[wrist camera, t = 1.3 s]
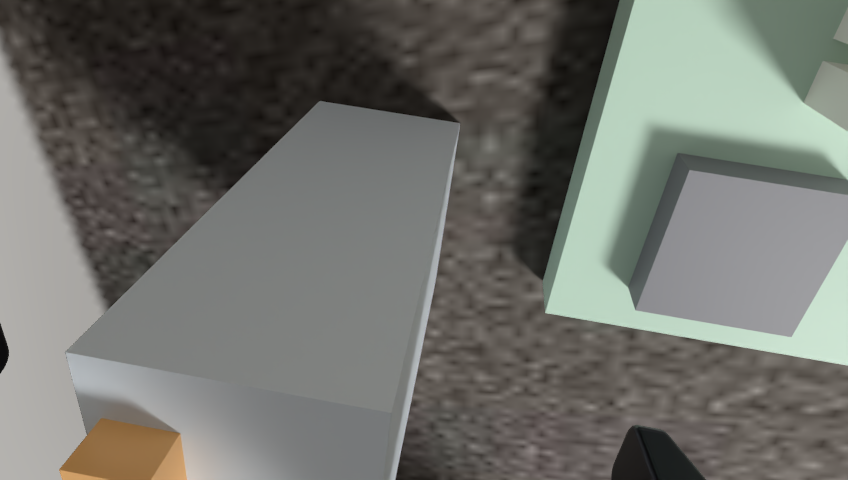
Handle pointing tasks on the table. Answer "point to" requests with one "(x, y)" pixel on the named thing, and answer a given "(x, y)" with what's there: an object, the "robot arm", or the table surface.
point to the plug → (278, 316)
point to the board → (714, 178)
